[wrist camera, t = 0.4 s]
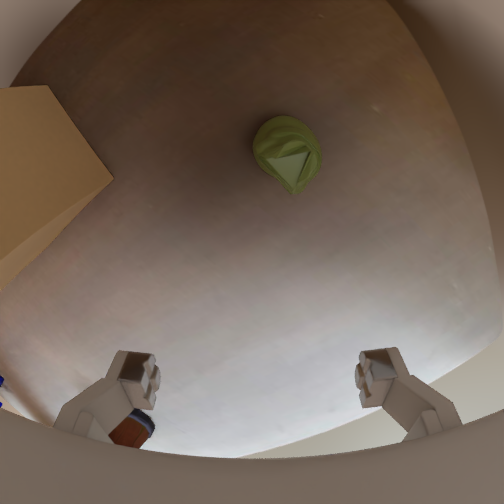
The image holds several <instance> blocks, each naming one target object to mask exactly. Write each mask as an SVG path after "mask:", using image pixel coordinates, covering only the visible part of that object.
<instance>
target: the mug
mask: <svg viewBox="0 0 504 504" xmlns="http://www.w3.org/2000/svg"><path fill="white" fill-rule="evenodd" d="M154 429H155V426H154V425H153V423H152V422H151V420H150V419H149V417H148V416H147V415H145V414H144V413H143V412H141V411H140V410H139V409H137V408H134V410H133V411H132V412H131V413H130V414H129V415H128V416H127V417H126V418H125V419H124V420H123V421H122V422H121V423H120V424H119V425H117V426H116V427H115V428H114V429H113V430H112V431H111V432H110V433H109V434H108V436H109V438H110V439H111V440H112V441H113V443H114V444H116V445H121V446H126V447H131V448H137V449H139V448H140V447H141V446H142V445H143V443H144V442H145V441H146V440H147V439H148V438H150V437H151V435H152V433H153V431H154Z"/></svg>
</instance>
